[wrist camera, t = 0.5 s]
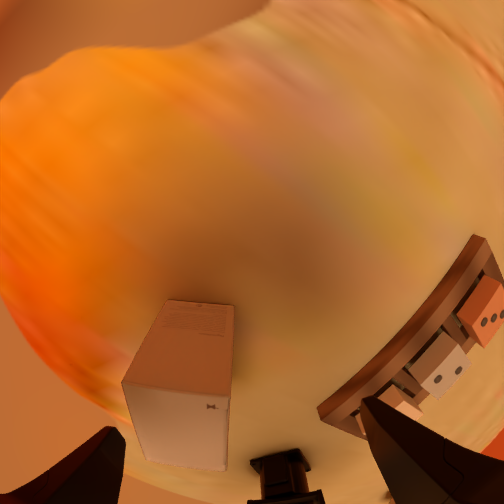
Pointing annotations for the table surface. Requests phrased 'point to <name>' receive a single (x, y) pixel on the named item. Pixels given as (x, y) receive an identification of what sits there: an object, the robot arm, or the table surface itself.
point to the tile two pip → (440, 366)
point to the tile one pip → (397, 404)
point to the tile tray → (414, 339)
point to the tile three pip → (483, 311)
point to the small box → (184, 386)
